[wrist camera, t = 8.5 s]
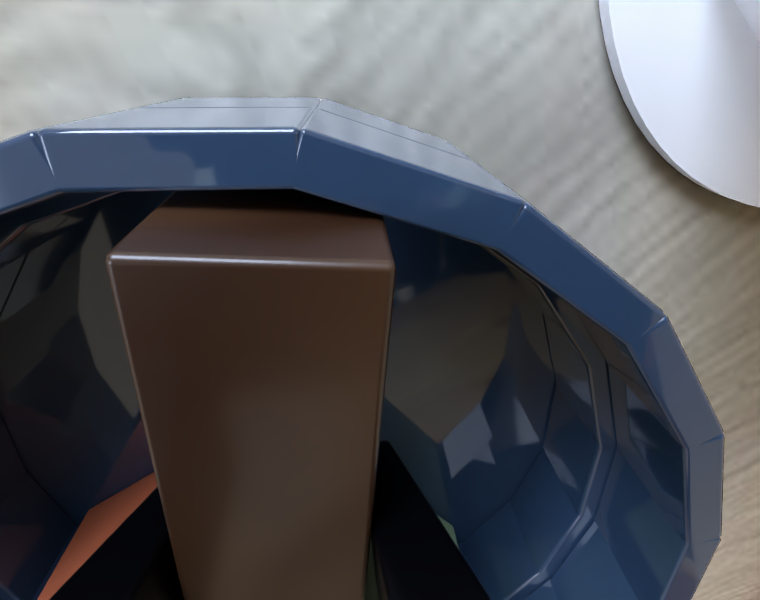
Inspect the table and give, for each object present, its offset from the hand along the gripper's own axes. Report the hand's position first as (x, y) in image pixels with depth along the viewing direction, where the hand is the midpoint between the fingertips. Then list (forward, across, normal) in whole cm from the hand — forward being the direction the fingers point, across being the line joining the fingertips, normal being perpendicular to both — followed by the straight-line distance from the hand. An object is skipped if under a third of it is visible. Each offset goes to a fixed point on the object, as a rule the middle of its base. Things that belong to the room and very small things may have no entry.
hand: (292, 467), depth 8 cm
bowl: (+4, +1, +2) cm, 4 cm away
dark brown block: (+1, 0, 0) cm, 1 cm away
